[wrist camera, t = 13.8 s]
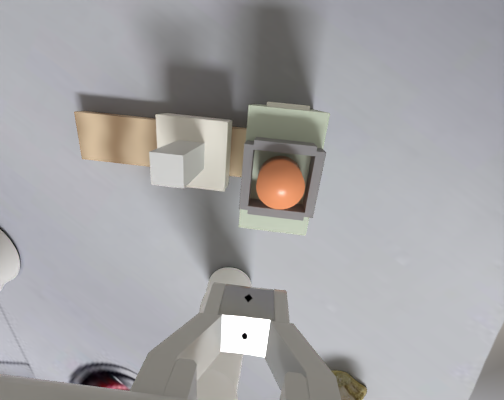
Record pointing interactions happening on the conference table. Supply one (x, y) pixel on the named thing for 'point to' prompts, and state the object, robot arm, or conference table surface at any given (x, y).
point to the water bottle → (226, 364)
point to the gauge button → (280, 183)
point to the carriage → (191, 152)
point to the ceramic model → (349, 386)
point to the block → (134, 139)
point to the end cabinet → (282, 144)
